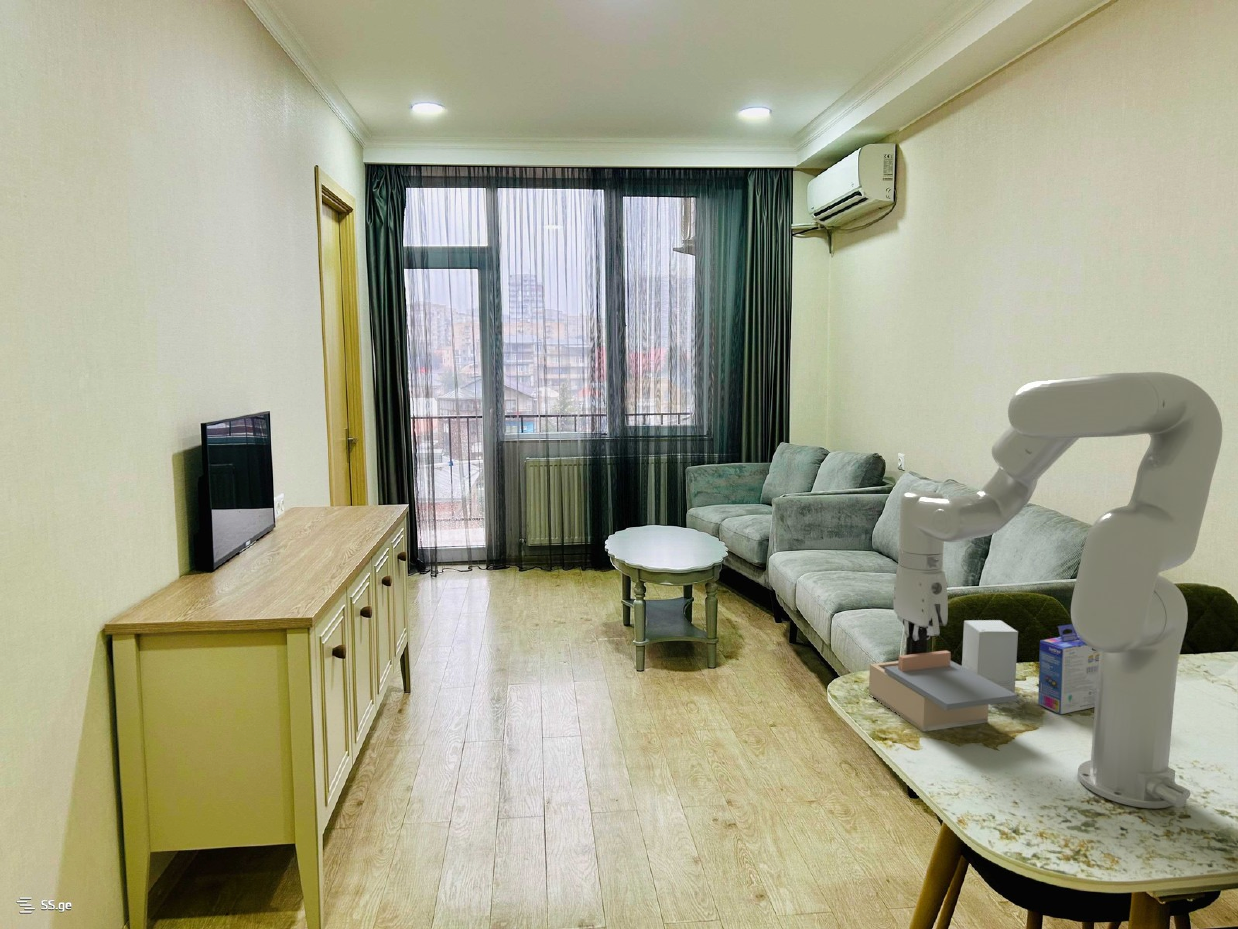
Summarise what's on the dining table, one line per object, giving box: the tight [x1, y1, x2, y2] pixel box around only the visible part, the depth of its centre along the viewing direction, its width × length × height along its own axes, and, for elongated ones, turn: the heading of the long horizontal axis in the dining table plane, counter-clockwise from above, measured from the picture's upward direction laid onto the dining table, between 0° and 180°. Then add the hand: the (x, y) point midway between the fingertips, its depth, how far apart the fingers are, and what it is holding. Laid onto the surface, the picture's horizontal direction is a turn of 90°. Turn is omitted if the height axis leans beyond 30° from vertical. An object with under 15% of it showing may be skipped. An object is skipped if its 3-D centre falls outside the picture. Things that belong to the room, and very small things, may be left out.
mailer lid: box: [884, 649, 1018, 710], centre depth 142 cm, size 17×14×3 cm
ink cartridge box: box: [1037, 623, 1100, 715], centre depth 148 cm, size 10×6×14 cm, turn 112°
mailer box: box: [868, 660, 990, 732], centre depth 147 cm, size 16×13×6 cm
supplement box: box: [961, 619, 1019, 694], centre depth 155 cm, size 7×7×13 cm
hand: (916, 659), depth 150 cm, fingers closed
